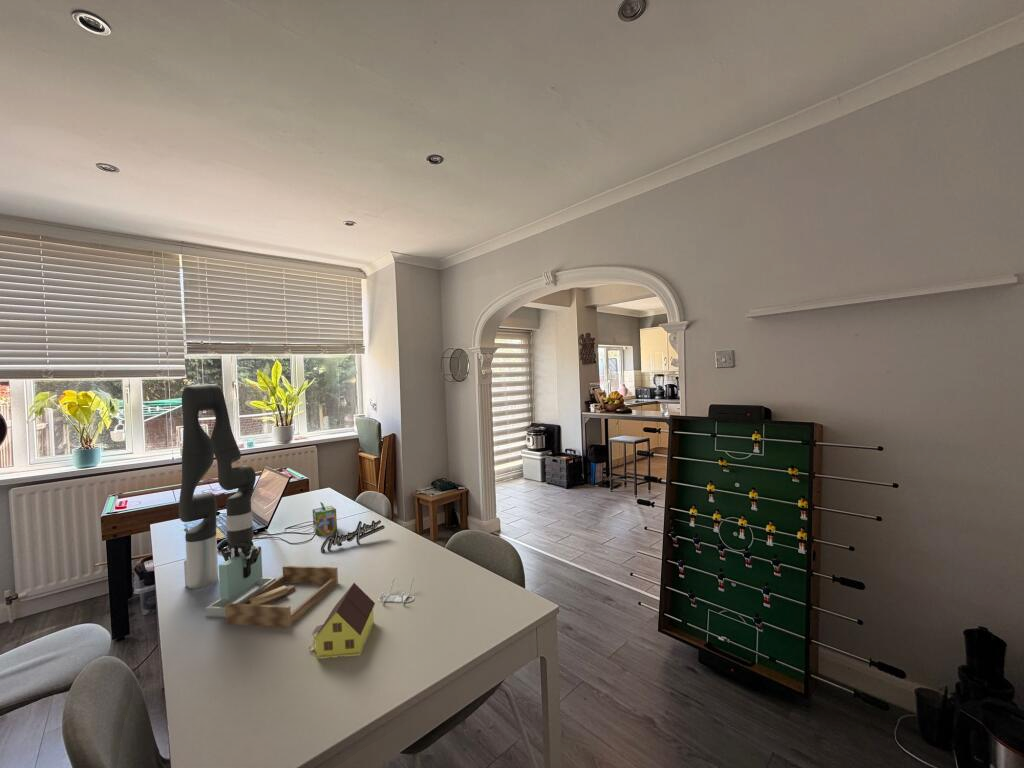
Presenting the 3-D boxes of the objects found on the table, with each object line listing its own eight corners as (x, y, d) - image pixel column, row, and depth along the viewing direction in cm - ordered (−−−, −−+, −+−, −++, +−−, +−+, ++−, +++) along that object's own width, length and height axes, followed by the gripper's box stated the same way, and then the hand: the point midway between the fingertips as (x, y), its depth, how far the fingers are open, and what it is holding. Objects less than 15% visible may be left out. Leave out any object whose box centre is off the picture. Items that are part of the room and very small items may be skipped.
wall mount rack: (374, 605, 137) (373, 591, 137) (387, 589, 147) (386, 576, 147) (410, 606, 136) (409, 592, 136) (420, 590, 146) (420, 577, 146)
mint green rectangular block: (220, 599, 135) (218, 565, 135) (254, 577, 150) (253, 546, 150) (228, 599, 135) (226, 565, 135) (262, 577, 150) (261, 546, 150)
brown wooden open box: (225, 624, 129) (224, 605, 129) (284, 581, 155) (284, 565, 155) (288, 627, 126) (288, 607, 126) (338, 583, 153) (337, 567, 152)
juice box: (337, 532, 205) (336, 502, 205) (317, 537, 200) (316, 506, 200) (332, 527, 213) (331, 498, 213) (313, 532, 207) (311, 502, 207)
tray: (206, 617, 133) (205, 607, 133) (254, 585, 154) (254, 577, 153) (230, 618, 132) (230, 608, 132) (276, 586, 152) (275, 577, 152)
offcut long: (241, 618, 133) (240, 611, 133) (290, 591, 149) (290, 584, 149) (246, 620, 132) (246, 613, 132) (295, 592, 148) (295, 586, 148)
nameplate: (324, 560, 181) (317, 539, 179) (323, 559, 182) (317, 538, 181) (386, 532, 195) (380, 512, 193) (385, 531, 196) (379, 511, 195)
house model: (296, 668, 108) (294, 619, 108) (324, 623, 128) (322, 582, 128) (368, 662, 110) (366, 614, 109) (385, 619, 129) (383, 578, 129)
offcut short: (249, 604, 137) (248, 599, 137) (284, 590, 145) (284, 585, 145) (252, 607, 135) (251, 601, 135) (287, 592, 144) (287, 587, 144)
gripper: (211, 529, 140) (214, 581, 140) (250, 530, 138) (252, 582, 138) (230, 522, 147) (232, 571, 147) (266, 522, 145) (268, 572, 145)
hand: (242, 576), depth 142 cm, fingers closed on mint green rectangular block, 3 cm apart
